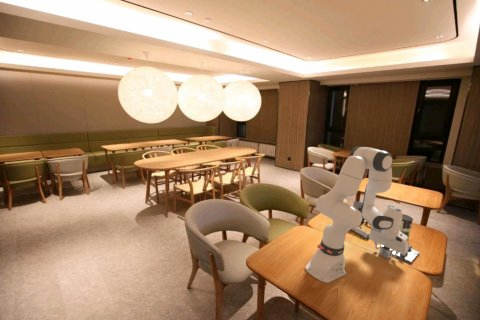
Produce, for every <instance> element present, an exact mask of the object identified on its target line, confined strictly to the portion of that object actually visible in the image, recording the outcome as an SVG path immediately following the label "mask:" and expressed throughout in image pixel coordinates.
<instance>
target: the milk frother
mask: <svg viewBox="0 0 480 320" xmlns="http://www.w3.org/2000/svg"><path fill="white" fill-rule="evenodd" d="M362 204H363V201H353V205H352V206H353V207H354V208H356V209H357V210H359V211H360V209H361V207H362ZM362 224H369V223H368V222H367V221H366V220H364V219H363V218H362V222H361V224H360V225H362Z"/></svg>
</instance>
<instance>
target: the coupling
mask: <svg viewBox="0 0 480 320" xmlns="http://www.w3.org/2000/svg"><path fill="white" fill-rule="evenodd" d="M378 251H379V252H378V254H379V256H380V257H382V258H384V257H385V258H384V259H390V258H391V257H392V252H393V250H392V249H390V248H388V247H385V246H383V245H381V244H380V245H379V249H378Z"/></svg>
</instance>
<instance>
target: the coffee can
mask: <svg viewBox="0 0 480 320" xmlns="http://www.w3.org/2000/svg"><path fill="white" fill-rule="evenodd" d="M413 221H414V218H413V217H412V216H411V215H410V216H409V215H408V214H404V213H402V221H401V225H400V226H399V229H400V230H399V231H400V232H402V233H403V234H405V235H406V236H407V237H408V239H409V238H410V233H411V229H412V225H413Z"/></svg>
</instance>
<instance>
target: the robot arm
mask: <svg viewBox="0 0 480 320" xmlns="http://www.w3.org/2000/svg"><path fill="white" fill-rule="evenodd" d="M348 155H349V156H348V157H347V158H346V160H345V161H344V163H343V165H342V167H341V169H340V172H339V173H338V177H337V178H336V181H335V184H334V186H333V187H331V190H330V191H328V192H327V193H325V194H322V195H320V196H319V197H318V198H317V200H316V203H315V207H316V208H315V209H317V211H319V212H320V213H321V214H322V215H323V216H326V217H327V218H329V219H331V220H332V223H330V224H327V225H326V226H325V227H323V234H322V239H321V241H320V242H319V244H317V246H316V247H317V248H318V249H317V250H316V251H315V252H314V254H313V255H312V258H311V259H310V260H309V261H308V262H307V264H306V265H305V267H304V269H305V270H306V272H307V273H308V274H309V275H311V276H312V277H313V278H315V279H316V280H318V281H320V282H323V283H326V284H328V283H331V282H333V281H335V280H337V279H339V278H342V277H344V276H346V275H347V271H346V270H345V266H346V265H345V264H346V258H345V255H344V252H345V240H346V236H347V233H348V232H349V231H350V230H352V229H354V228H356V227H359V226H360V225H362V224H361V222H362V218H363V219H364V221H365V222H366V221H367V222H368V223H367V224H369V225H370V226H371V227H370V228H369V230H370V232H369V238H368V239H369V240H370V241H372V242H374V243H373V244H374V248H375V249H376V250H380V246H381V245H383V246H385V247H388V248H390V249H392V251H396V253H393V255H392V254H391V257H393V258H397V257H396V255H397V254H398V253H401V254H403V255H404V254H406V253H407V251H408V245H409V241H408V239H409V238H408V237H407V236H406V235H405V234H403V233H402V232H400V231H399V230H400V229H399V226H400V225H401V221H402V214H403V211H402V209H400V208H399V207H397V206H394V205H386V207H385V208H383V209H382V210H379V209H378V208H377V207H376V205H375V203H376V197H377V194H380V193H386V192H388V191H389V190H390V188H391V186H392V180H393V172H392V170H393V169H392V166H393V163H394V159H393V156H392V154H391V153H390V152H388V151H386V150H380V149H378V148H374V147H370V146H369V147H368V146H362V145H361V146H355V147H352V149H351V150H350V153H349V154H348ZM366 169H367V170H368V180H367V183H366V185H365V189H364V194H363V200H362V203H363V204H362V207H361V209H360V211H359V210H357V209H356V208H354V207H353V205H351V204H349V203H347V202H344V201H345V200H346V198H348V197H353V196H355V195H357V194H358V191H359V189H360V186H361V183H362V180H363V179H364V175H365V171H366Z"/></svg>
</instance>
